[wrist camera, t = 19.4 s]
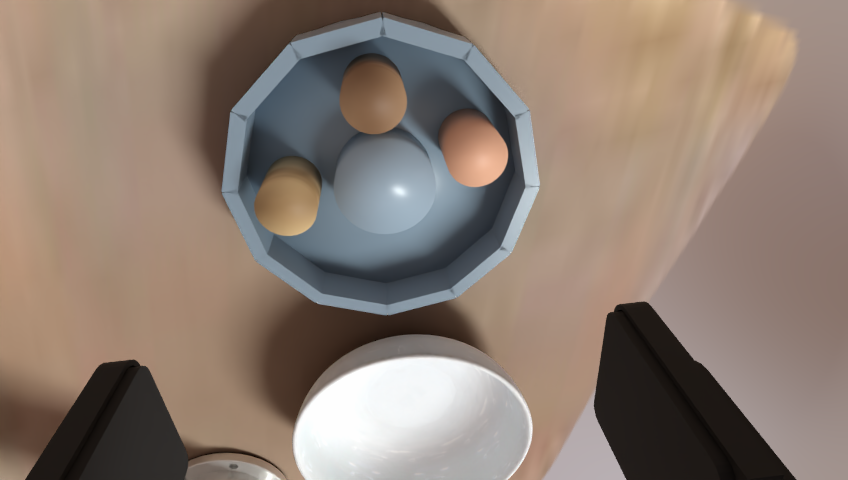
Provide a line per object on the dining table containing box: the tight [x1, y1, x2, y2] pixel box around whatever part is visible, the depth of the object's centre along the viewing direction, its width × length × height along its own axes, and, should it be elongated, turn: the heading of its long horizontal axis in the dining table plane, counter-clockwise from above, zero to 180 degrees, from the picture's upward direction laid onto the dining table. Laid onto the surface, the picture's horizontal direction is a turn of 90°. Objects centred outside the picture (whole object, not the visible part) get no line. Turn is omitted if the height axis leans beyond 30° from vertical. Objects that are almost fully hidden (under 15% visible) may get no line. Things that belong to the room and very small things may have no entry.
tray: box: [222, 12, 540, 315], centre depth 37 cm, size 21×21×4 cm
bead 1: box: [254, 156, 322, 236], centre depth 35 cm, size 4×4×4 cm
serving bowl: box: [292, 334, 532, 480], centre depth 47 cm, size 21×21×7 cm
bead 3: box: [438, 108, 508, 187], centre depth 35 cm, size 4×4×4 cm
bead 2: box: [339, 53, 407, 134], centre depth 32 cm, size 4×4×4 cm
